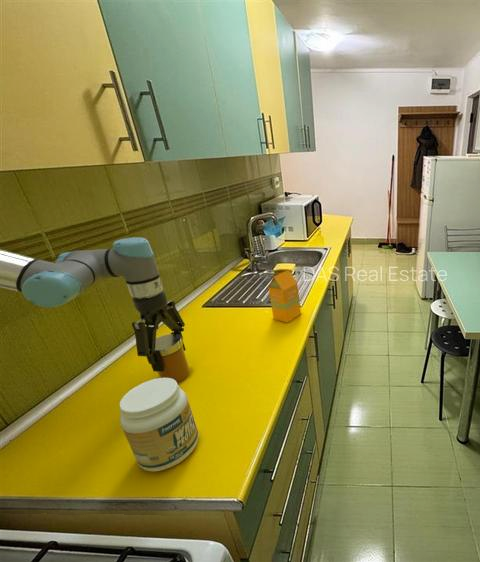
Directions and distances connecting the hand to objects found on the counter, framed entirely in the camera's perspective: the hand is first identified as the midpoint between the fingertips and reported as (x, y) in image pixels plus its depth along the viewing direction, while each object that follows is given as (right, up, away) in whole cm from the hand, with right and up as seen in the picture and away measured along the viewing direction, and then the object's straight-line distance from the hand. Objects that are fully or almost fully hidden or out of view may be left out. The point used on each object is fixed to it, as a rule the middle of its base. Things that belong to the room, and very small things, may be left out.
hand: (170, 359), depth 93 cm
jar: (0, -6, +2) cm, 6 cm away
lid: (0, +6, -2) cm, 6 cm away
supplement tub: (+15, -16, -21) cm, 30 cm away
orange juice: (+25, +9, +37) cm, 46 cm away
